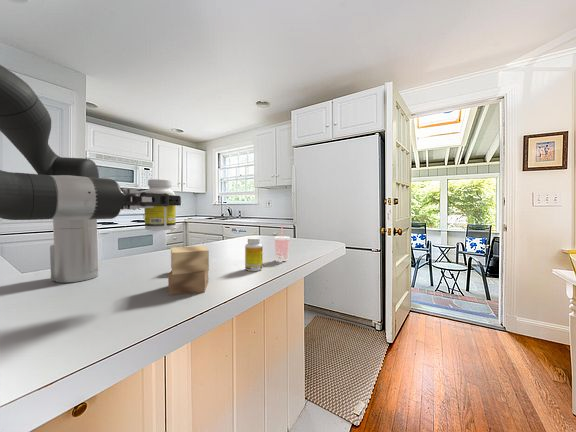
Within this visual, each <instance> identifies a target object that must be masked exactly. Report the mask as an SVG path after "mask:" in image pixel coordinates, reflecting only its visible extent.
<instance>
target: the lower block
mask: <svg viewBox="0 0 576 432" xmlns="http://www.w3.org/2000/svg"><path fill="white" fill-rule="evenodd" d="M167 275H168V283H167V285H168V288H167V289H168V295H169V296H171V295H182V294H184V295H185V294H198V293H205V292H206V291H207V287H208V286H209V285H208V284H209V271H203V272H194V273H184V274H175V275H172V270H171V271H169V273H168V274H167Z"/></svg>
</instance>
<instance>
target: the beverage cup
mask: <svg viewBox="0 0 576 432" xmlns="http://www.w3.org/2000/svg"><path fill="white" fill-rule="evenodd" d="M280 225H281V227H280V228H281V230H280V232H281V235H277V236H273V240H274V252H275V253H274V255H275V261H276V260H277V261H286V260H288V261H289V251H290V249H289V248H290V240H291V237H290V236H289V235H288V236H287V235H286V236H285V235H283V234H284V233H283V232H284V231H283V229H284V226H283V225H284V224H283V223H281V224H280ZM277 261H276V262H277Z"/></svg>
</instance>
